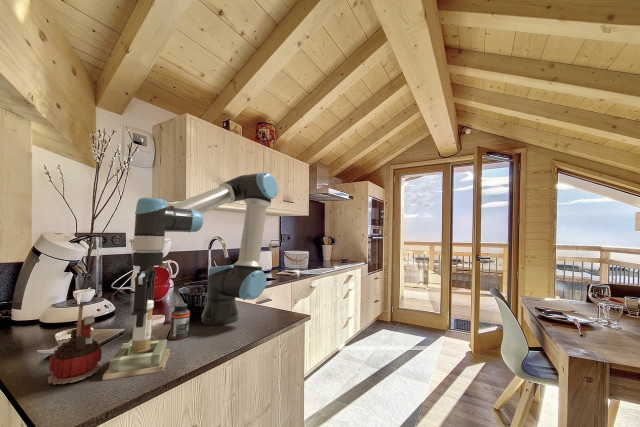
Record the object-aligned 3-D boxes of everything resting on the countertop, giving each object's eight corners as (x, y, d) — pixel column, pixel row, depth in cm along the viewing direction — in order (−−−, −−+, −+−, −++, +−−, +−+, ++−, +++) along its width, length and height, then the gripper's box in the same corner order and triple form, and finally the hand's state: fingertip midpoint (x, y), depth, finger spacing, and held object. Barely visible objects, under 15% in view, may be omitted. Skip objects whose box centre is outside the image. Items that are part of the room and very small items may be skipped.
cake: (45, 376, 66) (53, 303, 68) (93, 363, 73) (99, 297, 75) (50, 393, 59) (58, 311, 61) (102, 376, 67) (109, 304, 68)
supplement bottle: (170, 335, 95) (172, 303, 96) (189, 333, 97) (190, 301, 98) (168, 341, 89) (170, 307, 90) (187, 338, 92) (189, 305, 93)
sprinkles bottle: (150, 346, 76) (153, 298, 78) (150, 351, 72) (154, 302, 74) (130, 349, 74) (134, 300, 75) (130, 355, 70) (134, 304, 71)
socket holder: (170, 352, 81) (170, 338, 81) (162, 371, 70) (163, 354, 70) (119, 359, 76) (120, 344, 76) (102, 380, 65) (104, 362, 65)
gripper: (141, 249, 82) (134, 326, 80) (122, 253, 66) (114, 349, 64) (168, 249, 85) (162, 324, 83) (157, 253, 69) (150, 345, 67)
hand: (141, 335), depth 74 cm, fingers closed on sprinkles bottle, 4 cm apart
